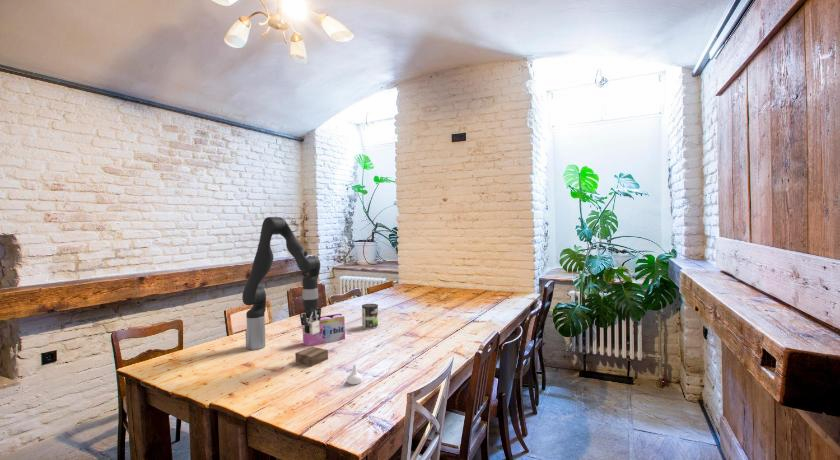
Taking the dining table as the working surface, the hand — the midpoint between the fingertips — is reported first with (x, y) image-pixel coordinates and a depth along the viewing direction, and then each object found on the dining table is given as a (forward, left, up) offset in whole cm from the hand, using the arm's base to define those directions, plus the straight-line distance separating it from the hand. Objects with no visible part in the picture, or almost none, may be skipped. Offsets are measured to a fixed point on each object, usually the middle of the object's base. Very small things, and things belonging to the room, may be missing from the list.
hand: (311, 331), depth 192 cm
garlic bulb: (+33, -14, -15) cm, 39 cm away
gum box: (-13, +28, -15) cm, 34 cm away
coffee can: (-2, +62, -15) cm, 64 cm away
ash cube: (0, 0, -1) cm, 1 cm away
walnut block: (0, 0, -15) cm, 15 cm away
